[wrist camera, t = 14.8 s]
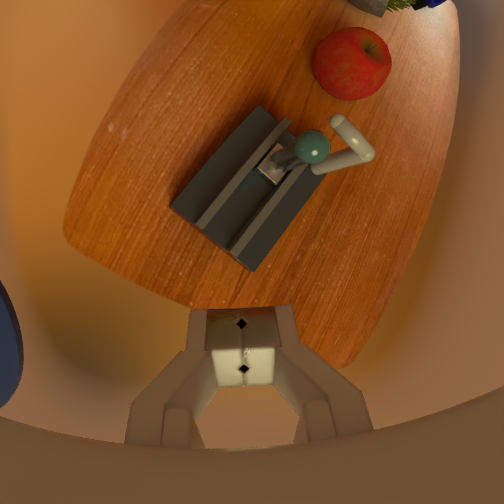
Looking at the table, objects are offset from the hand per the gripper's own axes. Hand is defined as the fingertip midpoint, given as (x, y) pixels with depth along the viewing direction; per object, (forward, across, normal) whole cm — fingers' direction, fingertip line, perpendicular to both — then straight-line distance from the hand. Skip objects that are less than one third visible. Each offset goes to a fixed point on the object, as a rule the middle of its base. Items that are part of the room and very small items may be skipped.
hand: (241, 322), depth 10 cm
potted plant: (+53, -24, -24) cm, 63 cm away
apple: (+41, -16, -7) cm, 45 cm away
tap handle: (+28, -4, +4) cm, 29 cm away
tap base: (+30, -2, +7) cm, 30 cm away
